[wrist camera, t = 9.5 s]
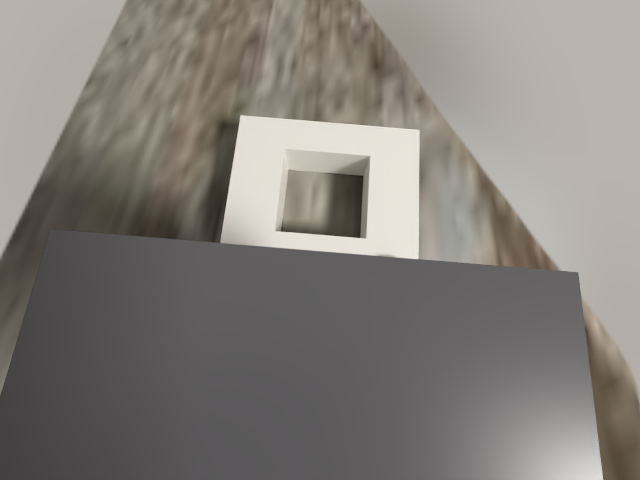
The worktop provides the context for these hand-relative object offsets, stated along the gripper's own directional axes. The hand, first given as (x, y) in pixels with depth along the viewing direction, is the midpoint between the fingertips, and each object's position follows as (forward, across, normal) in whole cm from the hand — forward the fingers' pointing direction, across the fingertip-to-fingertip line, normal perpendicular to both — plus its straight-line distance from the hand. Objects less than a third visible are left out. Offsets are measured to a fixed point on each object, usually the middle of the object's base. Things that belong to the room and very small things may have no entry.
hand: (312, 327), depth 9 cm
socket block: (+12, 0, +6) cm, 14 cm away
